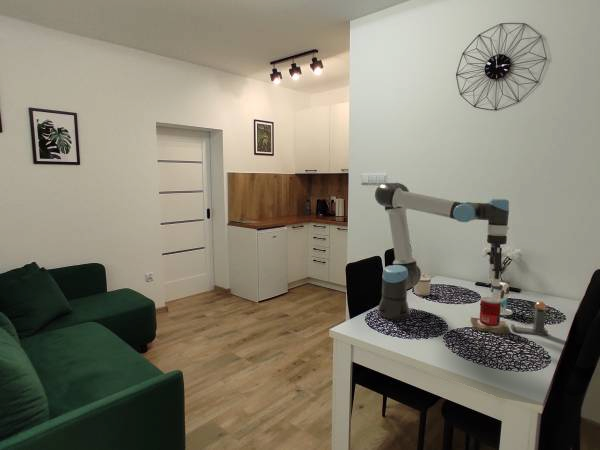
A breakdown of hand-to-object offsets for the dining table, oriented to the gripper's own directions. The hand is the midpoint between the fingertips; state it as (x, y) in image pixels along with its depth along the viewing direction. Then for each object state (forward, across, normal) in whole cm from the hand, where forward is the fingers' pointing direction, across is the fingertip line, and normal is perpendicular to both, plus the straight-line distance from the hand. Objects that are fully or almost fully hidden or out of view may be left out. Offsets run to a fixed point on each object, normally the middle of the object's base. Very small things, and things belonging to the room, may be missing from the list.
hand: (493, 282), depth 163 cm
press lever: (+20, +1, -18) cm, 27 cm away
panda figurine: (+21, +25, -7) cm, 34 cm away
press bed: (+21, 0, +1) cm, 21 cm away
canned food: (+19, 0, +1) cm, 19 cm away
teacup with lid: (+21, +42, +33) cm, 57 cm away
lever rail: (+21, +1, -15) cm, 26 cm away
